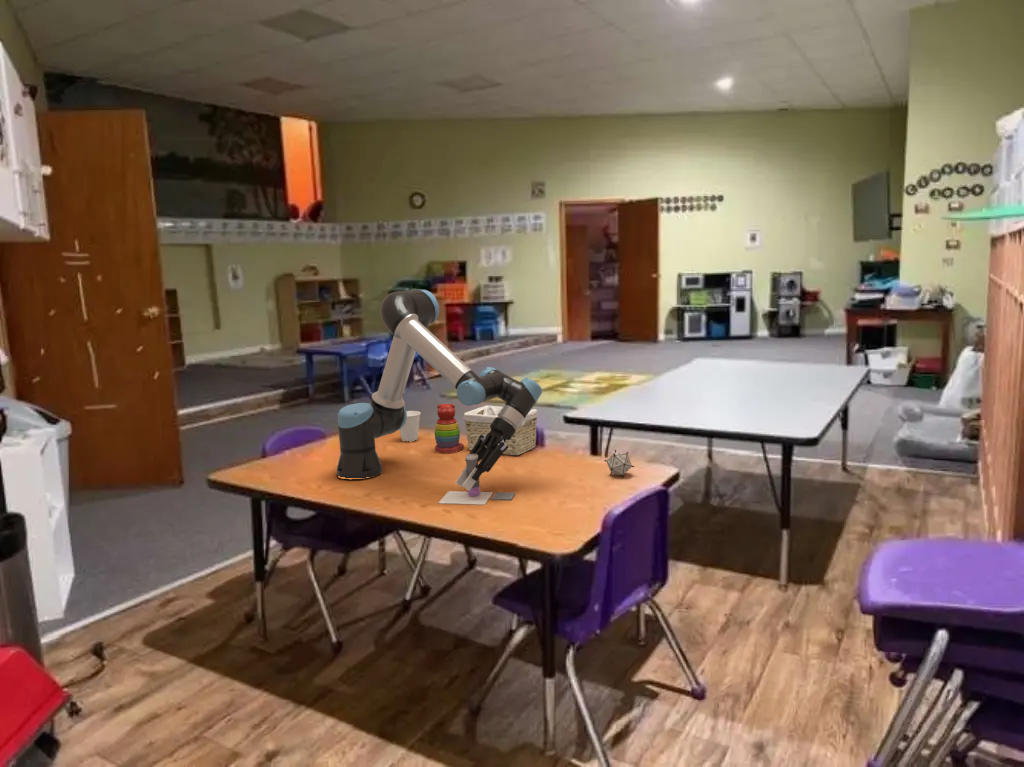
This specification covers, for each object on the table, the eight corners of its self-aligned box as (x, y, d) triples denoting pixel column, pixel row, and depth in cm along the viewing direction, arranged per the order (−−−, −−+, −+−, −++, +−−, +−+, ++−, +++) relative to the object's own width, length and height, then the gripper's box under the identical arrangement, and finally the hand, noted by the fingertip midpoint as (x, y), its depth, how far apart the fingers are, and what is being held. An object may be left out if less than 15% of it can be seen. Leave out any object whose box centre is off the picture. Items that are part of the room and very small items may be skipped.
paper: (438, 503, 220) (438, 502, 220) (448, 491, 231) (448, 491, 231) (484, 504, 218) (484, 504, 218) (493, 492, 228) (492, 492, 228)
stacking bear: (464, 446, 285) (462, 400, 282) (460, 453, 275) (457, 406, 272) (436, 447, 286) (434, 401, 283) (431, 454, 276) (428, 406, 273)
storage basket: (463, 451, 279) (461, 412, 276) (487, 441, 292) (485, 404, 290) (518, 458, 266) (516, 417, 264) (540, 447, 280) (539, 408, 277)
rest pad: (491, 499, 222) (491, 498, 222) (495, 493, 228) (495, 492, 228) (511, 500, 221) (511, 499, 221) (515, 493, 226) (515, 492, 226)
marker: (466, 495, 224) (464, 456, 222) (469, 491, 228) (467, 453, 226) (478, 496, 224) (476, 457, 222) (481, 492, 227) (479, 453, 225)
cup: (393, 443, 294) (391, 416, 292) (401, 437, 304) (399, 410, 302) (418, 443, 292) (416, 416, 291) (425, 437, 302) (423, 410, 300)
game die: (625, 486, 242) (644, 462, 239) (610, 483, 235) (630, 459, 233) (608, 467, 247) (627, 444, 245) (594, 464, 241) (612, 440, 238)
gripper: (529, 435, 224) (484, 500, 218) (499, 425, 238) (456, 486, 232) (513, 420, 220) (468, 486, 214) (484, 412, 234) (440, 473, 228)
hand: (462, 486), depth 223 cm, fingers closed on marker, 3 cm apart
